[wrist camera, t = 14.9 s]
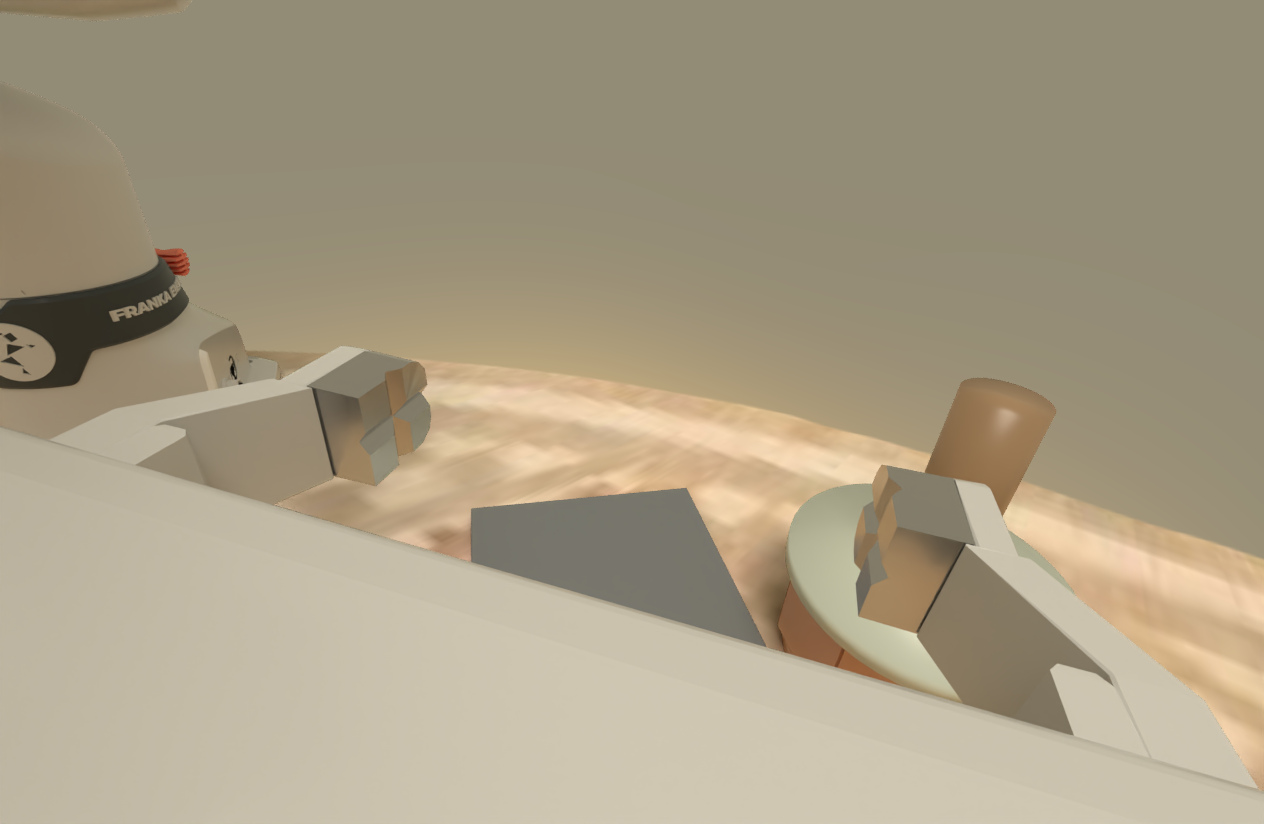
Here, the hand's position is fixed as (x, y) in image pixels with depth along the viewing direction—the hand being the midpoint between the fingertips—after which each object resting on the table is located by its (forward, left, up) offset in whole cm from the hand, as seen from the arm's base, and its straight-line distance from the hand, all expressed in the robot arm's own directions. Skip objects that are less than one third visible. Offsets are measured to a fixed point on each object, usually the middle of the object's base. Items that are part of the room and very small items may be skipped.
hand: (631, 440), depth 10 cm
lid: (-9, +19, -16) cm, 26 cm away
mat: (-17, +4, -22) cm, 28 cm away
